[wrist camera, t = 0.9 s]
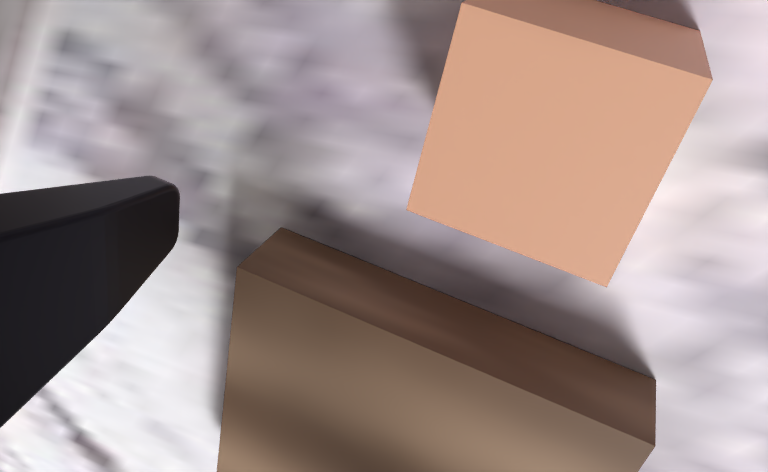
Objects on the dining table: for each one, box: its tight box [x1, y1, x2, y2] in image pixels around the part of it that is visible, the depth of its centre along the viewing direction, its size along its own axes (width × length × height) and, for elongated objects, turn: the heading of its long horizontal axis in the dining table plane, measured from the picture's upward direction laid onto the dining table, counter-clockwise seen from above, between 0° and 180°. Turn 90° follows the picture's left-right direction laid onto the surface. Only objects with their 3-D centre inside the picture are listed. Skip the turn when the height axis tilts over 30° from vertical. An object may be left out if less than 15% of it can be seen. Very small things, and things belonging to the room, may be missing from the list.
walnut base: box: [217, 228, 656, 472], centre depth 25 cm, size 14×14×3 cm
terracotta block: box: [406, 0, 713, 287], centre depth 16 cm, size 5×5×5 cm
